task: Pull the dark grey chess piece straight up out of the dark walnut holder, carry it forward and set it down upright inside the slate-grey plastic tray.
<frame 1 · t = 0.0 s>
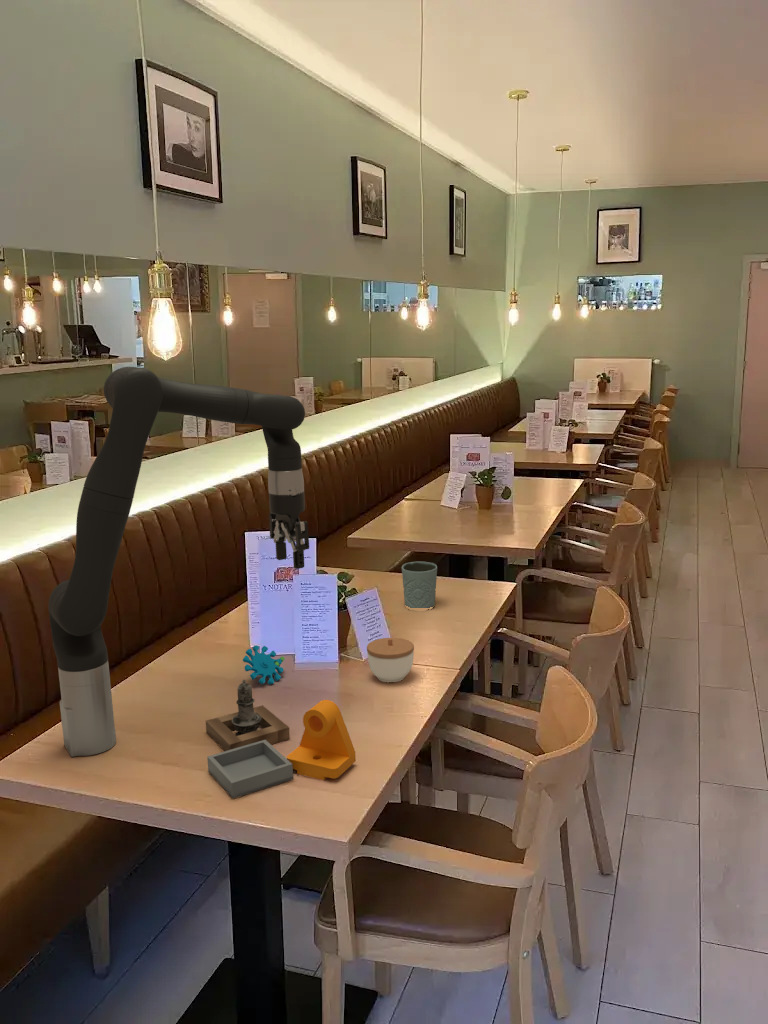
hand: (290, 563, 192), 29 cm above the table, tool pointing down, fingers open, 8 cm apart
dark grey chess piece: (247, 736, 177), resting in walnut holder
grey tray: (250, 775, 162), on the table
green embossed pot: (420, 607, 253), on the table
teal virus toy: (266, 680, 205), on the table
bracket: (320, 769, 164), on the table
lidded jar: (391, 678, 204), on the table
walnut holder: (247, 735, 177), on the table
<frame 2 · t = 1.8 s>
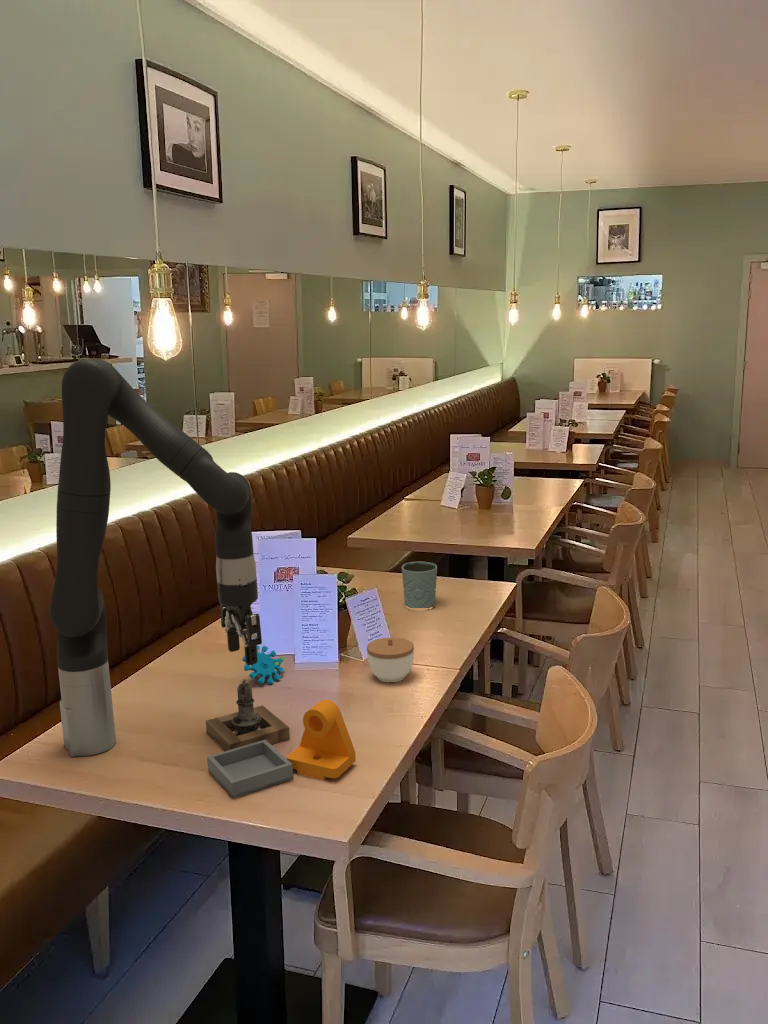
hand: (242, 657, 174), 17 cm above the table, tool pointing down, fingers open, 8 cm apart
nothing on the table moved.
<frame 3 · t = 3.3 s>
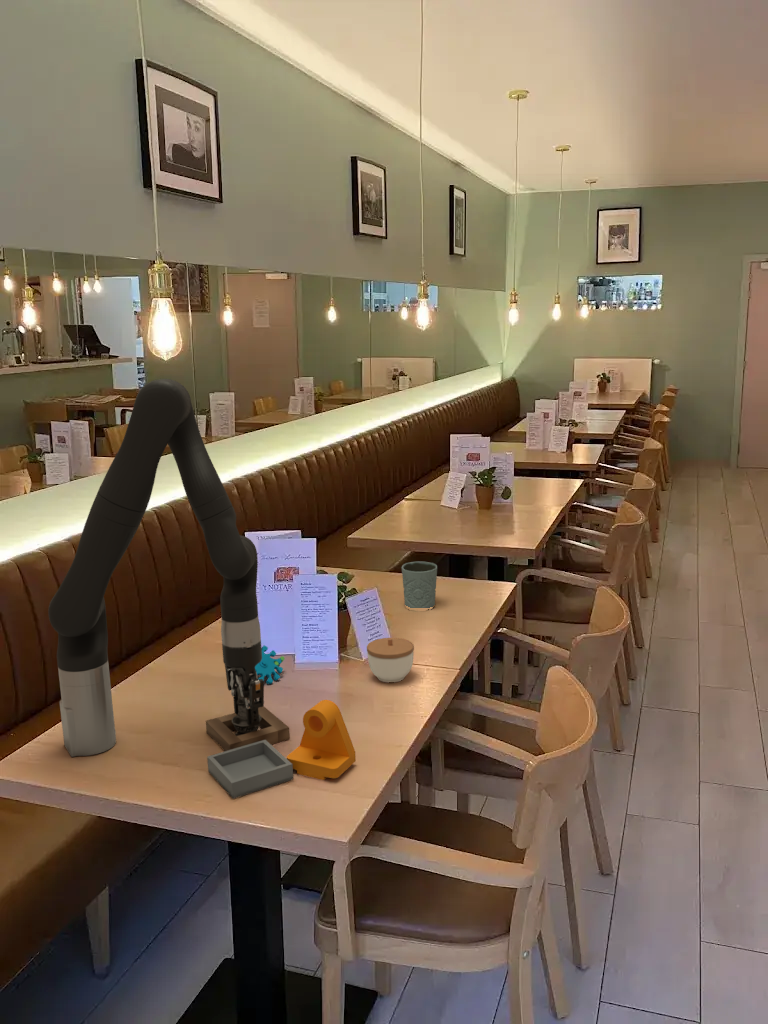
hand: (246, 718, 176), 4 cm above the table, tool pointing down, fingers closed on dark grey chess piece, 6 cm apart
dark grey chess piece: (247, 736, 177), resting in walnut holder, touching gripper
everything else where it was.
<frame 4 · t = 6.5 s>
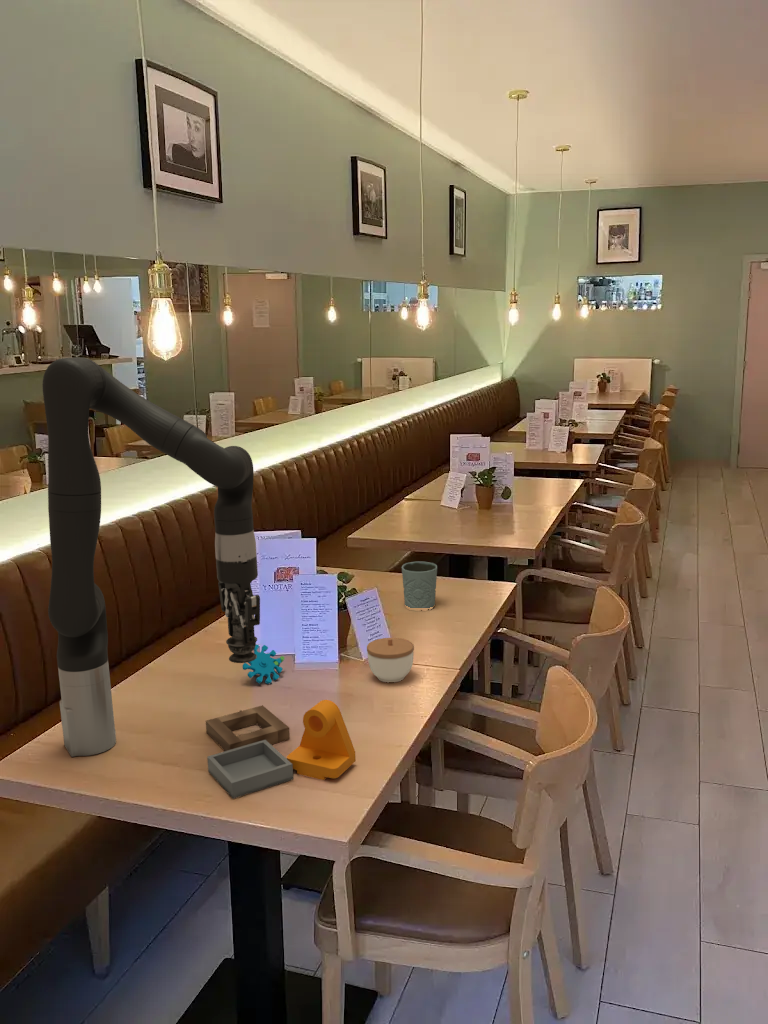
hand: (241, 639, 169), 22 cm above the table, tool pointing down, fingers closed on dark grey chess piece, 6 cm apart
dark grey chess piece: (242, 658, 170), point 18 cm above the table, touching gripper
everything else where it was.
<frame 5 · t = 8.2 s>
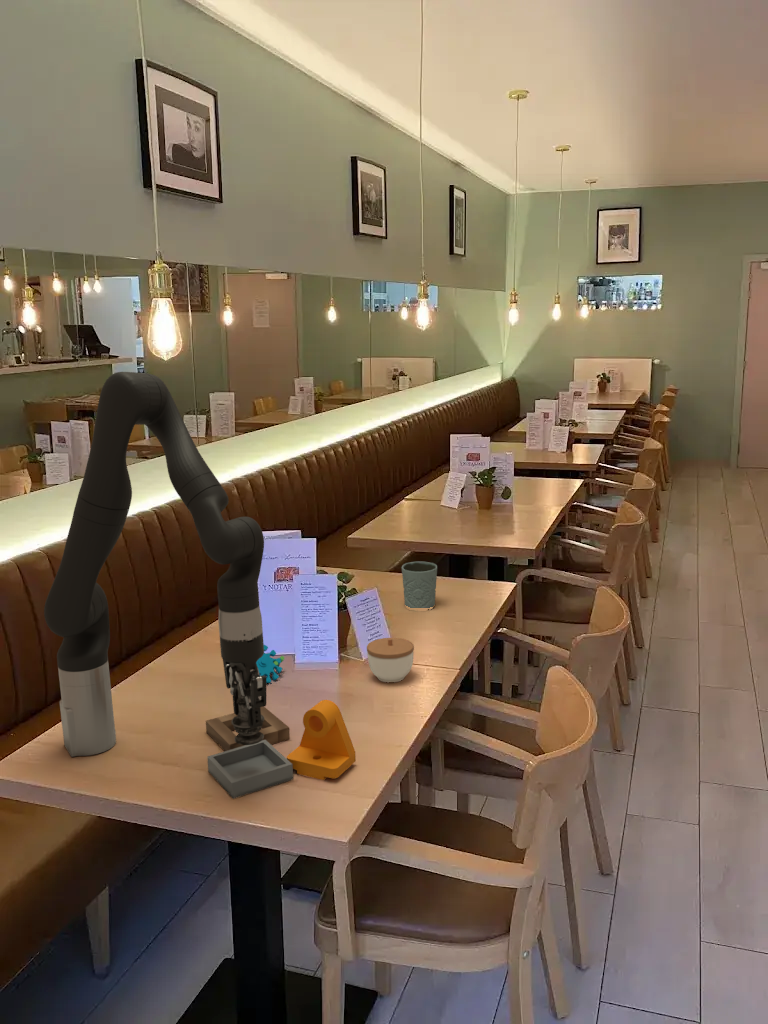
hand: (247, 719, 160), 11 cm above the table, tool pointing down, fingers closed on dark grey chess piece, 6 cm apart
dark grey chess piece: (249, 739, 160), point 7 cm above the table, touching gripper
everything else where it was.
when the fingers open (6 cm above the table, at t = 9.7 s): dark grey chess piece drops 1 cm, resting on grey tray.
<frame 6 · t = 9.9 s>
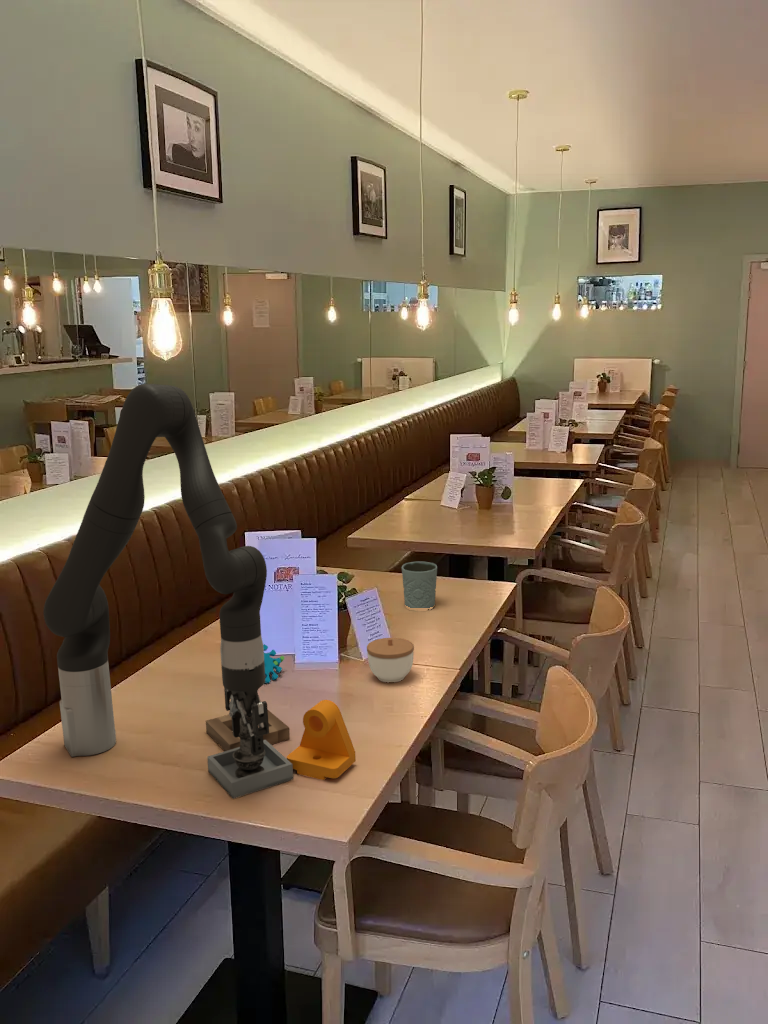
hand: (248, 744, 160), 6 cm above the table, tool pointing down, fingers open, 8 cm apart
dark grey chess piece: (249, 772, 162), resting on grey tray
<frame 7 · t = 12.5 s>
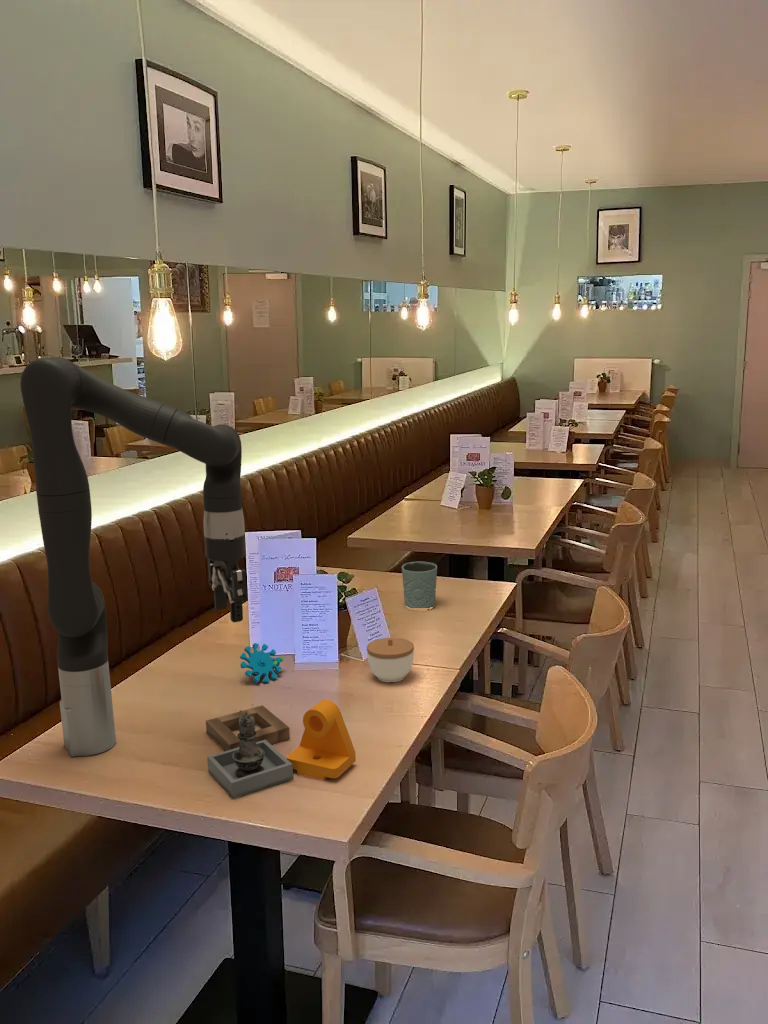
hand: (228, 615, 170), 26 cm above the table, tool pointing down, fingers open, 8 cm apart
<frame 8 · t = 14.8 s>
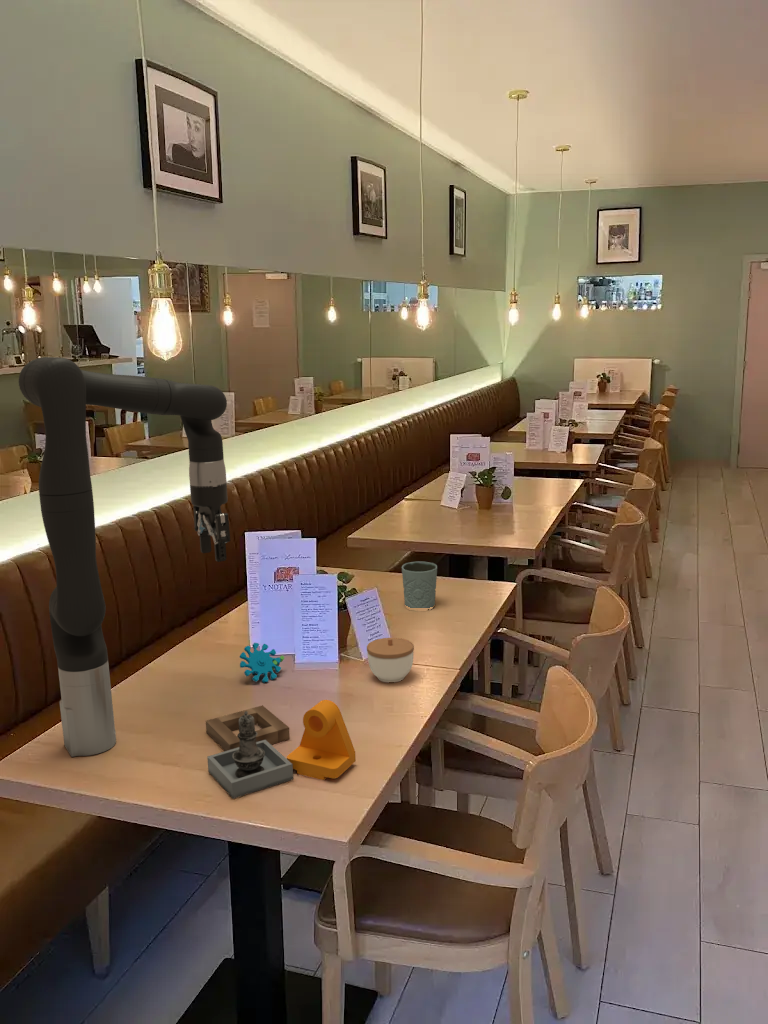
hand: (213, 556, 189), 32 cm above the table, tool pointing down, fingers open, 8 cm apart
at the end: dark grey chess piece inside the target area on the grey tray (0.1 cm from its centre), point 0.4 cm above the grey tray's base; dark grey chess piece tilted 0°; the gripper is holding nothing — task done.
